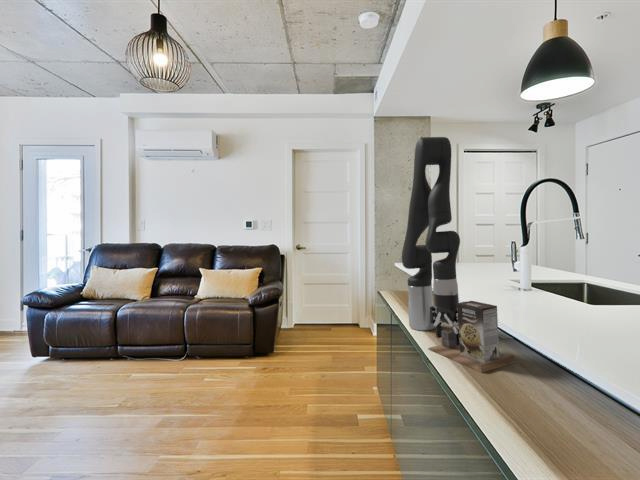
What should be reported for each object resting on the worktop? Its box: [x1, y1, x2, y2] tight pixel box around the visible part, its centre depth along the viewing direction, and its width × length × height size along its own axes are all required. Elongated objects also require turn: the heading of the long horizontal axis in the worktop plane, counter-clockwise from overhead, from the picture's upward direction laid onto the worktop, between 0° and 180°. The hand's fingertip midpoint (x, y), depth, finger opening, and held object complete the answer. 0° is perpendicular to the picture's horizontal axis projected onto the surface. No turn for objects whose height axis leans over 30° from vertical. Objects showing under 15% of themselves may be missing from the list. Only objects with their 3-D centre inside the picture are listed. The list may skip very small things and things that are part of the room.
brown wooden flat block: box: [427, 329, 516, 373], centre depth 100 cm, size 21×13×6 cm, turn 22°
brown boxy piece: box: [457, 300, 500, 363], centre depth 96 cm, size 9×6×16 cm
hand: (448, 340), depth 108 cm, fingers open, 8 cm apart
